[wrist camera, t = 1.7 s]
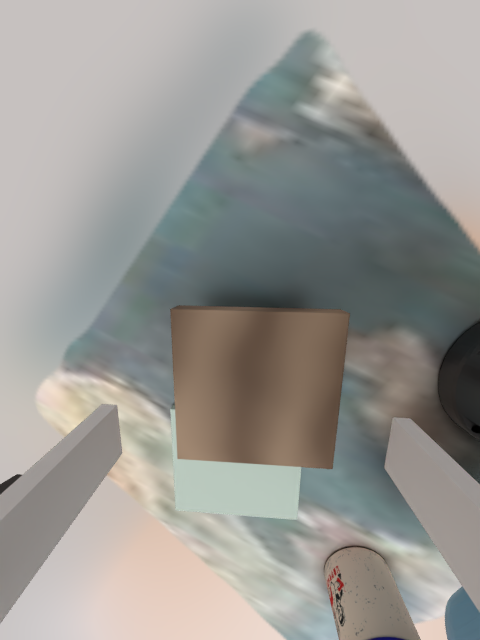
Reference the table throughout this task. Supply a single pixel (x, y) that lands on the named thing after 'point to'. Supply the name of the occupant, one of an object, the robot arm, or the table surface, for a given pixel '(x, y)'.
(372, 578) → the teacup with lid
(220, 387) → the walnut lid
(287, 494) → the sage mat
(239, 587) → the table surface
